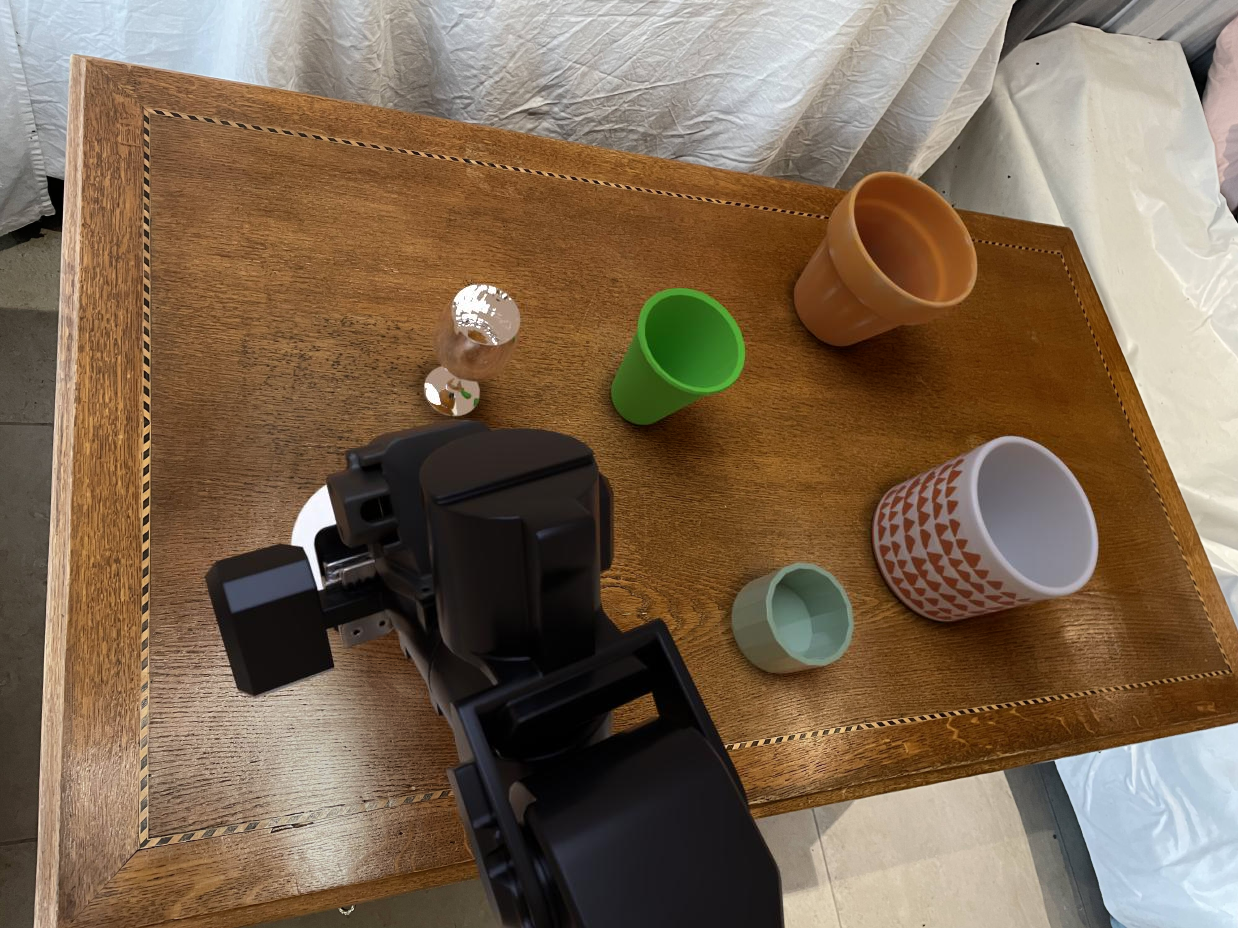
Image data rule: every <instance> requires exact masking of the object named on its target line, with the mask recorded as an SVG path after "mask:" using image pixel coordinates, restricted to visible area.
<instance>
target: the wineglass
mask: <svg viewBox="0 0 1238 928" xmlns="http://www.w3.org/2000/svg"><path fill="white" fill-rule="evenodd" d="M520 333H521V313H520V310H519V307H518V306H517V303H516V302H515V301H514V299H513V298H512V297H511V296H510V295H509V294H508V293H506V292H505V291H504V290H502V289H501V288H498V287H496V286H495V285H489V284H486V283H476V284H471V285H467V286H465V287H463V288H462V289H460V290H459V291H458V292H457V293H456V294H455V295H454V296H453V297H452V298H451V299H450V300H449V301H448V302H447V303H446V305H445V306H444V307H443V309H442V310H441V311H440V313H439V315H438V317H437V319H436V322H435V324H434V327H433V332H432V345H433V351H434V354H435V356H436V359H437V361H438V363H439V364H440V366H438V367H436V368H434V369H432V370H431V371H430V372H429V373H428V374H427V376H426V377H425V380H424V383H423V394H424V398H425V399H426V401H427V403H428V405H430V407H431V408H433V409H434V410H435V411H436V412H438V413H440V414H442V415H444V416H447V417H461V416H466V415H467V414H470V413H471V412H472V411H474V410H475V408H476V407H477V405H478V404H479V402H480V399H481V388H480V385H479V383H481V382H485V381H488V380H491V379H493V378H495V377H497V376H499V375H500V374H502V373H503V372H504V371H505V370H506V368H507V367H508V366H509V365H510V364H511V362H512V360H513V358H514V356H515V354H516V352H517V349H518V345H519V342H520Z"/></svg>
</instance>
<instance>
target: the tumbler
mask: <svg viewBox="0 0 1238 928" xmlns="http://www.w3.org/2000/svg"><path fill="white" fill-rule="evenodd" d="M732 604H733V605H732V609H731V618H730V619H731V629H732V633H733V636H734V640H735V642H736V645H737V646H738V648H739V650H740V651H741V653H742V654H743V655H744V657H745V658H746V659H747V660H748V661H749V662H750V664H752V665H754V666H755V667H757V668H758V669H760V670H762V671H764V672H766V673H770V674H777V675H778V674H779V675H780V674H792V673H797V672H801V671H806V670H811V669H816V668H821V667H825V666H828V665H830V664H832V663H834V662H835V661H838V660H839V659H841V657H842V656H843V655H844V653H845V652H846V651H847V649H848V648H849V647H850V645H851V642H852V638H853V633H854V629H855V620H854V613H853V606H852V603H851V601H850V599H849V597H848V595H847V592H846V590H845V588H844V587H843V585H842V584H841V583H840V582H839V580H837V578H836V577H835V576H834V575H833V573H831V572H830V571H828V570H826V569H824V568H822V567H820V566H819V565H817V564H815V563H808V562H794V563H792V564H789V565H787V566H784V567H781V568H779V569H777V570H775V571H772V572H769V573H768V574H764V575H763V576H762V575H761V577H758V578H755V579H753V580H750V581H749V582H748V583H746V584H745V585H744V586H743V587H742V588H741V589H740V591H739V592H738V593H737V595H736V596H735V599H734V601H733V603H732Z"/></svg>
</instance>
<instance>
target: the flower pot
mask: <svg viewBox="0 0 1238 928" xmlns="http://www.w3.org/2000/svg"><path fill="white" fill-rule="evenodd" d="M977 277H978V258H977V253H976V249H975V245H974V242H973V239H972V238H971V235H970V233H969V231H968V228H967V227H966V224H965V223H964V221H963V220H962V219H961V217H960V215H959V214H958V213H957V211H956V210H955V209H954V208H953V206H952V205H951V204H950V203H949V202H947V200H946V199H945V198H944V197H942V195H940V194H939V193H938V192H937V191H936V190H935V189H933V188H932V187H930V186H929V185H927V184H926V183H924V182H923V181H921V180H919V179H917V178H915V177H912V176H909V175H908V174H904V173H901V172H897V171H878V172H874V173H870V174H868V175H866V176H864V177H863V178H862V179H860V180H859V181H858V182H857V183H856V184H855V185H854V186H853V187H852V189H850V190H849V191H848V193H846V195H844V196H843V198H842V199H841V200H840V201H839V203H838V204H837V205H836V206H835V207H834V209H833V211H832V212H831V214H830V216H829V219H828V224H827V228H826V235H825V237H824V238H823V239H822V241H821V243H820V244H819V246H818V247H817V248H816V250H815V252H814V253H813V255H812V256H811V258H810V260H809V261H808V263H807V265H806V266H805V268H804V269H803V270H802V273H801V275H800V276H799V278H798V279H797V280H796V282H795V285H794V289H793V304H794V309H795V311H796V314H797V316H798V318H799V320H800V321H801V323H802V324H803V326H804V327H805V328H806V330H807V331H809V332H810V333H811V334H812V335H814V337H815V338H816V339H818V340H820V341H821V342H823V343H825V344H827V345H830V346H834V347H847V346H852V345H854V344H857V343H858V342H859V343H860V342H862V341H865V340H868V339H870V338H873V337H875V336H878V335H880V334H884V333H885V332H888V331H891V330H893V329H896V328H898V327H901V326H903V325H904V326H918V325H924V324H926V323H929V322H931V321H933V320H935V319H937V318H939V317H940V316H942V315H944V314H945V313H946V312H948V311H950V310H951V309H953V308H954V307H956V306H957V305H959V304H960V303H962V302H964V301H965V300H966V299H967V298H968V296H969V295H970V294H971V293H972V291H973V289H974V286H975V284H976V281H977Z"/></svg>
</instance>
